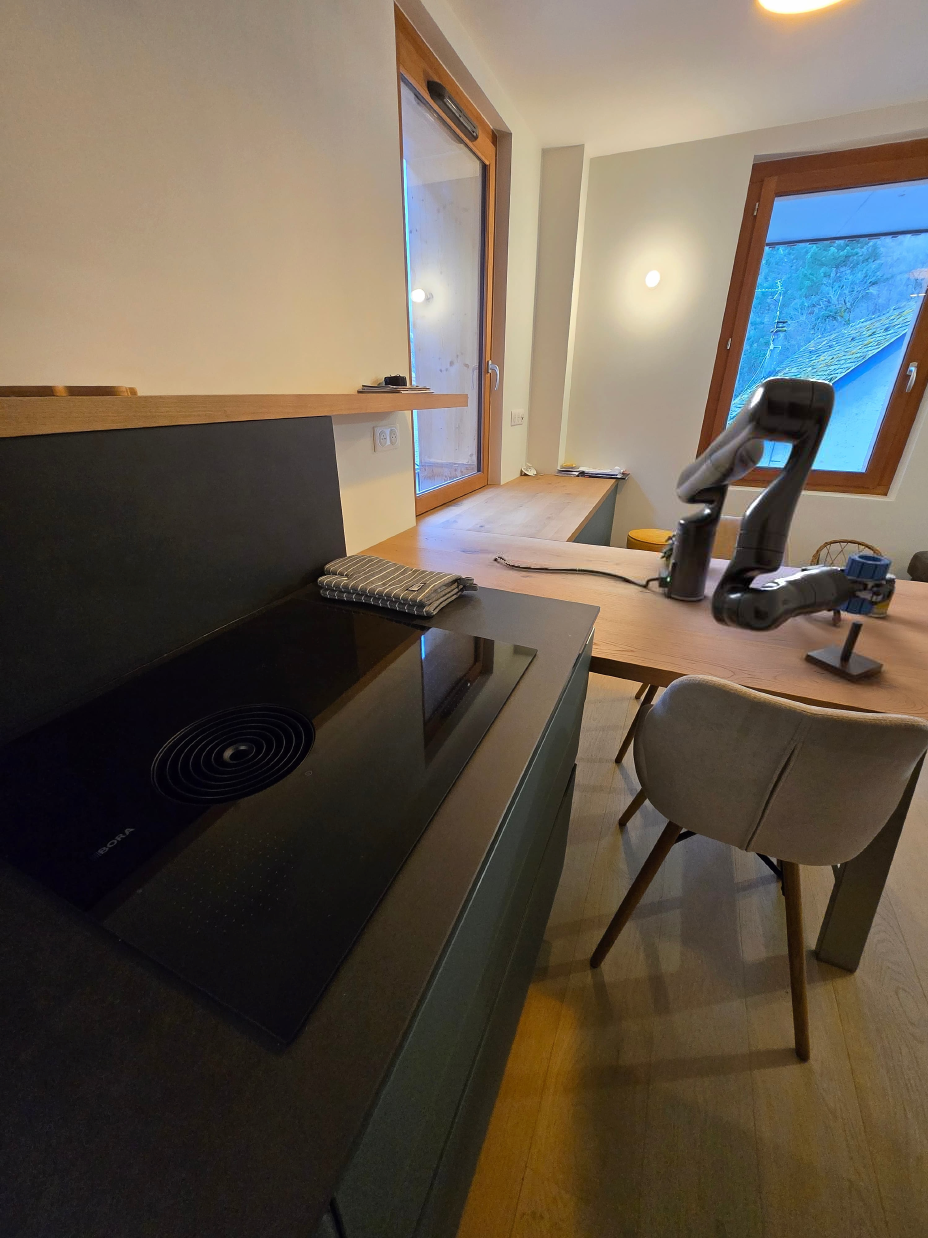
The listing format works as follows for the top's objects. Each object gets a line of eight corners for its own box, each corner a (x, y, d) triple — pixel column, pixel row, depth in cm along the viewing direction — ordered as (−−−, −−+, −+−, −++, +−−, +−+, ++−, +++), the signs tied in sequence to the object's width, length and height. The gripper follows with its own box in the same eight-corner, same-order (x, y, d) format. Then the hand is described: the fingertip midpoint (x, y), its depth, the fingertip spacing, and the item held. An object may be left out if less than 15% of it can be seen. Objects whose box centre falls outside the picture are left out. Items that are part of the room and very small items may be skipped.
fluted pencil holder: (839, 613, 92) (857, 562, 88) (828, 600, 97) (845, 552, 93) (877, 617, 90) (897, 565, 86) (864, 604, 95) (883, 554, 91)
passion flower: (664, 577, 158) (672, 542, 159) (700, 578, 150) (708, 542, 152) (651, 565, 149) (660, 528, 151) (688, 566, 142) (697, 527, 143)
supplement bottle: (890, 618, 116) (905, 579, 112) (864, 616, 117) (878, 578, 113) (877, 609, 121) (892, 571, 117) (853, 607, 122) (866, 570, 118)
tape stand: (851, 681, 92) (868, 637, 88) (804, 660, 100) (818, 617, 96) (880, 671, 95) (898, 627, 91) (833, 650, 103) (847, 609, 99)
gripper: (863, 585, 78) (924, 569, 84) (779, 559, 90) (837, 547, 96) (848, 627, 82) (907, 609, 88) (768, 597, 94) (825, 583, 100)
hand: (870, 577), depth 92 cm, fingers closed on fluted pencil holder, 6 cm apart
